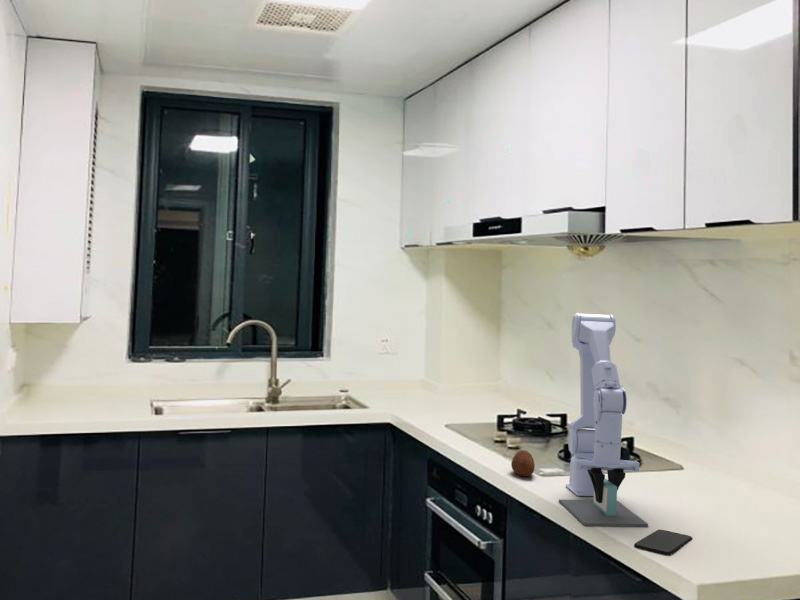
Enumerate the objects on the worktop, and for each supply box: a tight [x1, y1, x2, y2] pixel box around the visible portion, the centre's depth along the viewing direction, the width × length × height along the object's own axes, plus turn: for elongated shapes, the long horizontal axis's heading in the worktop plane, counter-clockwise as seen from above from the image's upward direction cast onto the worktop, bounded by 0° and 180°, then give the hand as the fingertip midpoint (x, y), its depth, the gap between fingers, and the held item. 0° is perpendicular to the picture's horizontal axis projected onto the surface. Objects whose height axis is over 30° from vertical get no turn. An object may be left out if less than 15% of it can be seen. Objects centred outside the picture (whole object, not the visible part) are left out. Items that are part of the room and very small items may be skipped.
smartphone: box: [633, 529, 693, 556], centre depth 157 cm, size 7×1×15 cm
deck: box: [592, 477, 618, 516], centre depth 177 cm, size 9×2×6 cm, turn 6°
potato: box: [510, 449, 535, 477], centre depth 209 cm, size 6×12×6 cm, turn 7°
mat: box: [558, 499, 649, 528], centre depth 176 cm, size 18×14×1 cm
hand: (604, 501), depth 177 cm, fingers open, 2 cm apart
